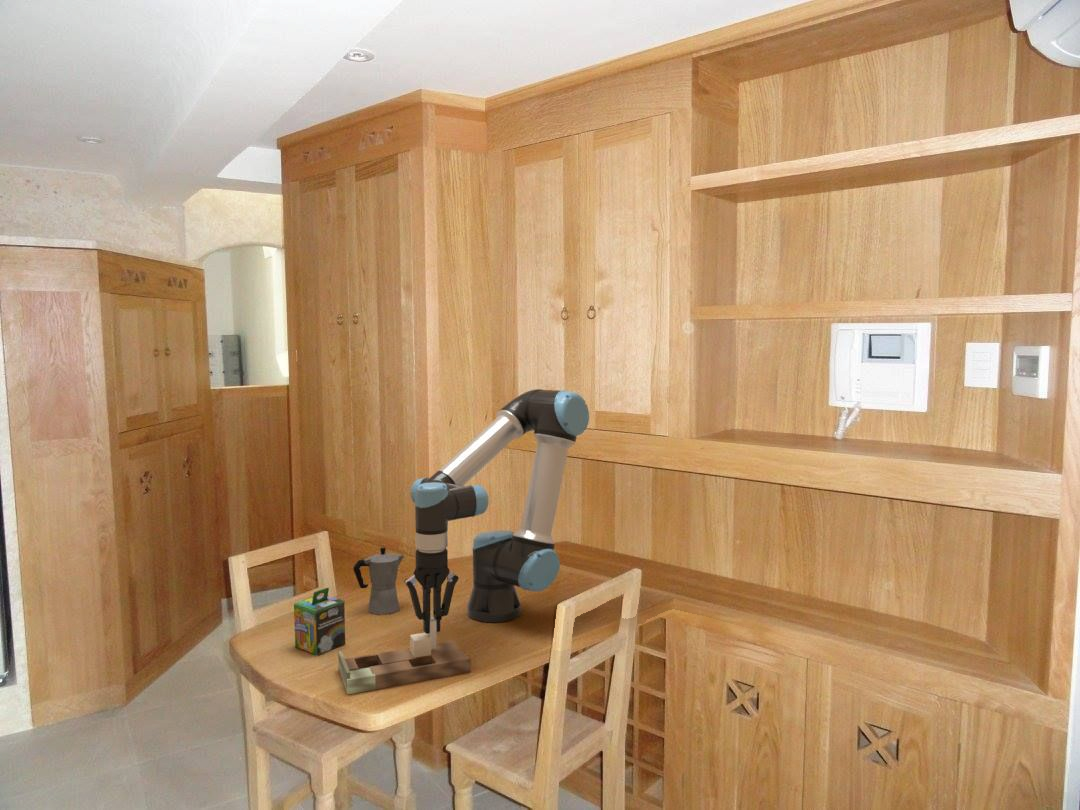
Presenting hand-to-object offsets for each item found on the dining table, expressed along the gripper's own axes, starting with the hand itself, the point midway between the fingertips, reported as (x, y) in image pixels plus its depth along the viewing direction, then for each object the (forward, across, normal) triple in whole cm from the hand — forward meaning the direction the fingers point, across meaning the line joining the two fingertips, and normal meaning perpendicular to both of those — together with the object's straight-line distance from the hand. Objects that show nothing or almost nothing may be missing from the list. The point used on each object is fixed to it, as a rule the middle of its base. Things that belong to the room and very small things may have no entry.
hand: (432, 645), depth 178 cm
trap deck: (+4, +7, +3) cm, 9 cm away
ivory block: (+1, +3, 0) cm, 3 cm away
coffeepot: (+4, +4, -39) cm, 40 cm away
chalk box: (+4, +23, -20) cm, 31 cm away
